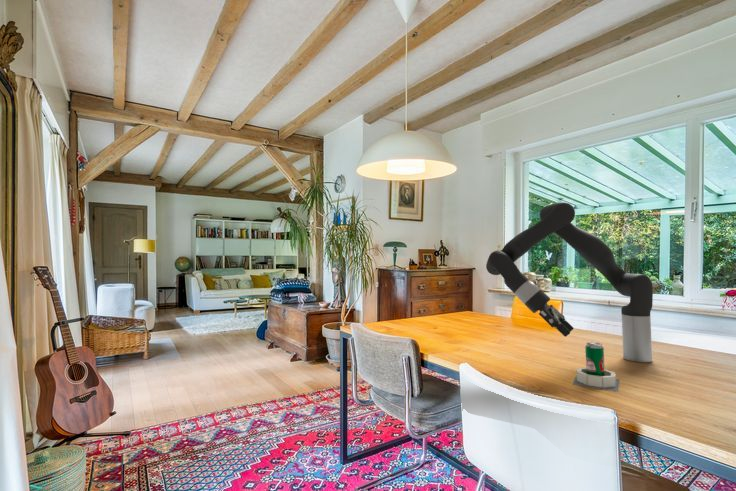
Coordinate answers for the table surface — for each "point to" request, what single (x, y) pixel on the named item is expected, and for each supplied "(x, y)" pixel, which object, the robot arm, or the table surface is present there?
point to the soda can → (594, 359)
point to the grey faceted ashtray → (596, 378)
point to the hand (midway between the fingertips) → (569, 332)
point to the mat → (597, 387)
